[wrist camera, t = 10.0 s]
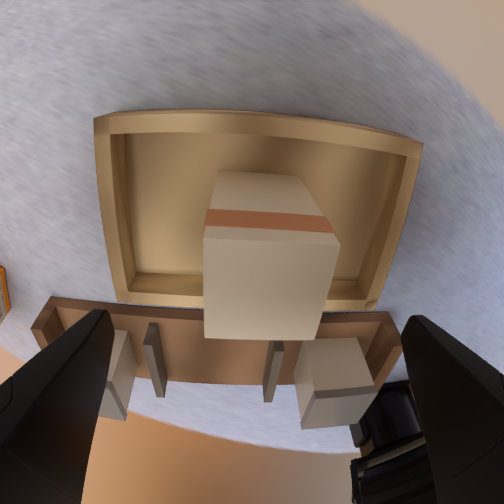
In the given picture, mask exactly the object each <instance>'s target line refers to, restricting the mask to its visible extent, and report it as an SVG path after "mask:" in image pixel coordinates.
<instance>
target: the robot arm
mask: <svg viewBox="0 0 504 504" xmlns="http://www.w3.org/2000/svg"><path fill="white" fill-rule="evenodd" d="M114 338H115V330H114V326H113V323H112V319H111V316H110V313H109V311H108V310H107V309H103V308H94V309H92V310H91V311H90V312H89V313H87V314H86V315H85V316H83V317H82V318H81V319H80V320H78V321H77V322H76V323H75V324H73V325H72V326H71V327H69V328H68V329H67V330H66V331H64V332H63V333H62V334H61V335H60V336H58V337H57V338H56V339H55V340H53V341H52V342H51V343H50V344H48V345H47V346H46V347H45V348H44V349H42V350H41V351H40V352H39V353H38V354H36V355H35V356H34V357H33V358H32V359H30V360H29V361H28V362H27V363H26V364H24V365H23V366H22V367H21V368H20V369H19V370H17V371H16V372H15V373H14V374H13V376H10V377H9V378H8V379H7V380H6V381H5V382H3V383H2V384H1V385H0V504H81V500H82V493H83V486H84V481H85V475H86V470H87V464H88V459H89V454H90V450H91V444H92V440H93V436H94V431H95V427H96V423H97V418H98V414H99V410H100V406H101V402H102V398H103V395H104V391H105V387H106V383H107V378H108V372H109V366H110V360H111V354H112V348H113V343H114ZM401 344H402V349H403V353H404V358H405V363H406V368H407V373H408V377H409V381H406V382H399V383H393V384H386V385H382V386H381V388H380V390H379V391H378V394H377V395H376V397H375V398H374V400H373V401H372V403H371V404H370V406H369V407H368V409H367V410H366V412H365V413H364V414H363V416H362V417H361V419H360V420H359V421H358V423H357V424H350V425H349V426H350V430H351V434H352V438H353V442H354V446H355V447H356V448H358V447H359V448H360V452H361V456H362V457H361V458H358V459H353V460H351V465H350V469H351V478H352V503H353V504H504V375H503V374H502V373H499V371H498V370H497V369H495V368H494V367H493V366H492V365H490V364H489V363H488V362H486V361H485V360H484V359H482V358H481V357H480V356H478V355H477V354H476V353H474V352H473V351H472V350H470V349H469V348H468V347H466V346H465V345H464V344H462V343H461V342H459V341H458V340H457V339H455V338H454V337H453V336H451V335H450V334H449V333H447V332H446V331H444V330H443V329H442V328H440V327H439V326H437V325H436V324H435V323H433V322H432V321H430V320H429V319H428V318H426V317H425V316H423V315H412V316H411V317H410V318H409V319H408V321H407V323H406V325H405V327H404V329H403V331H402V333H401ZM412 392H413V395H414V397H413V395H412ZM414 399H415V400H414Z"/></svg>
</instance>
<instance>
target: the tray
mask: <svg viewBox="0 0 504 504" xmlns="http://www.w3.org/2000/svg"><path fill="white" fill-rule="evenodd" d="M94 144H95V160H96V172H97V183H98V192H99V201H100V209H101V217H102V224H103V230H104V237H105V243H106V249H107V254H108V260H109V265H110V270H111V275H112V280H113V285H114V289H115V294H116V298H117V302H126V303H137V304H150V305H164V306H179V307H196V308H204V300H203V237H204V222H205V218H206V213H207V209H209V208H210V203H211V199H212V194H213V189H214V185H215V180H216V176H217V172H218V171H237V172H253V173H267V174H279V175H291V176H299V177H300V179H301V180H302V182H303V184H304V185H305V187H306V188H307V190H308V192H309V193H310V195H311V196H312V198H313V200H314V201H315V203H316V205H317V206H318V208H319V210H320V211H321V213H322V214H323V216H326V217H327V219H328V221H329V222H330V224H331V226H332V227H333V229H334V231H335V237H336V238H337V240H338V242H339V243H340V245H341V246H340V250H339V254H338V258H337V262H336V266H335V270H334V274H333V277H332V281H331V285H330V288H329V292H328V296H327V299H326V303H325V306H324V310H323V311H352V310H374V309H375V307H376V304H377V302H378V299H379V297H380V294H381V291H382V289H383V286H384V283H385V280H386V278H387V275H388V272H389V269H390V266H391V263H392V260H393V257H394V254H395V251H396V248H397V245H398V242H399V239H400V235H401V232H402V229H403V225H404V222H405V218H406V215H407V211H408V208H409V204H410V200H411V196H412V193H413V189H414V185H415V180H416V176H417V172H418V168H419V163H420V158H421V154H422V149H423V143H421V142H419V141H416V140H414V139H411V138H409V137H407V136H404V135H402V134H399V133H394V132H390V131H385V130H381V129H376V128H371V127H366V126H361V125H356V124H350V123H344V122H338V121H332V120H326V119H319V118H311V117H304V116H295V115H286V114H277V113H266V112H253V111H236V110H211V109H162V110H138V111H122V112H113V113H109V114H106V115H102V116H99V117H96V118H94Z"/></svg>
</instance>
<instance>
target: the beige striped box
mask: <svg viewBox="0 0 504 504" xmlns="http://www.w3.org/2000/svg"><path fill="white" fill-rule="evenodd" d="M340 246H341V245H340V243H339V242H338V240H337V238H336V237H335V231H334V229H333V227H332V226H331V224H330V222H329V221H328V219H327V217H326V216H323V214H322V213H321V211H320V210H319V208H318V206H317V205H316V203H315V201H314V200H313V198H312V196H311V195H310V193H309V192H308V190H307V188H306V187H305V185H304V184H303V182H302V180H301V179H300V177H299V176H291V175H279V174H267V173H253V172H237V171H218V172H217V176H216V180H215V185H214V189H213V194H212V199H211V203H210V208H209V209H207V213H206V218H205V222H204V237H203V300H204V338H215V339H239V340H314V339H315V336H316V333H317V330H318V326H319V323H320V320H321V316H322V313H323V310H324V306H325V303H326V299H327V296H328V292H329V288H330V285H331V281H332V277H333V274H334V270H335V266H336V262H337V258H338V254H339V250H340Z"/></svg>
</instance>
